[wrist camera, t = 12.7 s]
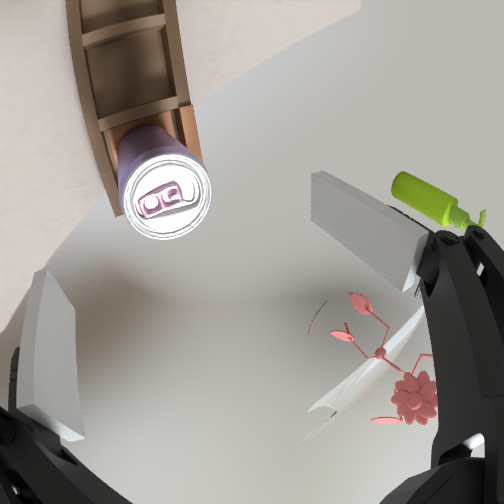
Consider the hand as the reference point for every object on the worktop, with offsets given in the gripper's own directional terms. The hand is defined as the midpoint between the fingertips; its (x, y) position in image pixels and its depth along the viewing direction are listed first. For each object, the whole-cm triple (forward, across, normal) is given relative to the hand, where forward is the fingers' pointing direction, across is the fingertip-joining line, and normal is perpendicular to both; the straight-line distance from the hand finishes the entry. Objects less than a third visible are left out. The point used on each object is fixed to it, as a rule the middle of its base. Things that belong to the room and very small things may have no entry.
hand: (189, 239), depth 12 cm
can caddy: (+21, 0, +9) cm, 23 cm away
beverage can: (+20, 0, 0) cm, 20 cm away
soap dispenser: (+21, +45, -16) cm, 52 cm away
